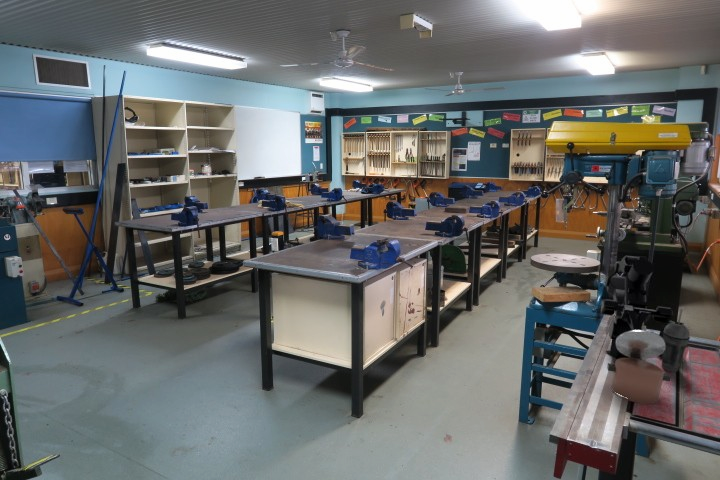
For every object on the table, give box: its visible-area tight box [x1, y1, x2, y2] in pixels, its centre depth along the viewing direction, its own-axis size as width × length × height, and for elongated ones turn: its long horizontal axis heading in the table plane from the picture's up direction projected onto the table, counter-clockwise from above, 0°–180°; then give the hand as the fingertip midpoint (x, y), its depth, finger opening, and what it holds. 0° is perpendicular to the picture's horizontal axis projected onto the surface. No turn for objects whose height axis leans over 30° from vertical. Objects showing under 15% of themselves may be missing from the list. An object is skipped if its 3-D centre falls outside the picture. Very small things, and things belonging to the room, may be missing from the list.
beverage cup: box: [661, 308, 691, 373], centre depth 151 cm, size 7×7×20 cm
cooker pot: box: [606, 357, 672, 405], centre depth 137 cm, size 13×16×8 cm
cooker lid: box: [616, 329, 666, 360], centre depth 138 cm, size 12×12×2 cm
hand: (636, 336), depth 143 cm, fingers closed
